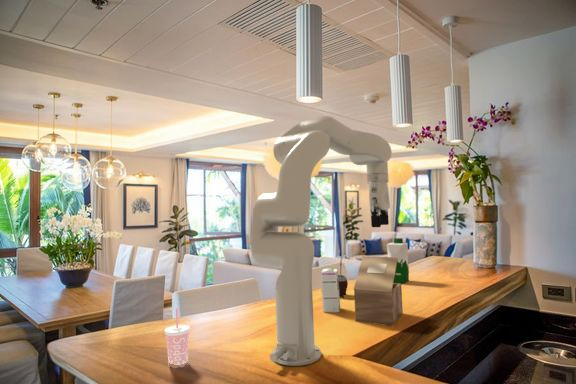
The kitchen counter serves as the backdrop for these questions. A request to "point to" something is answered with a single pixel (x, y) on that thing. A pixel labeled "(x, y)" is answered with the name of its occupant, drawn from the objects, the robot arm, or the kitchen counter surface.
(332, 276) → the syrup box
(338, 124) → the robot arm
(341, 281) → the mate gourd
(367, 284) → the carton flap
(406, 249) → the milk carton
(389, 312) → the carton
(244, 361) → the kitchen counter surface
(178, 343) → the beverage cup
